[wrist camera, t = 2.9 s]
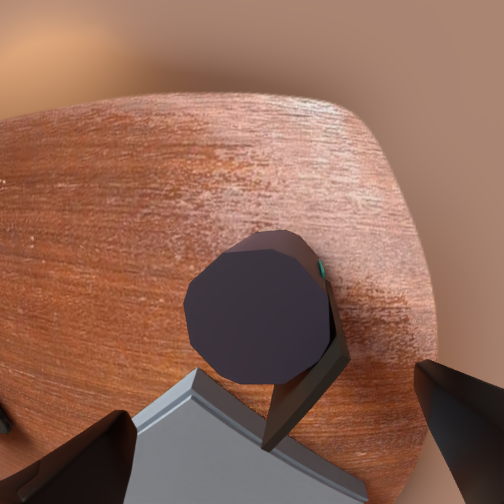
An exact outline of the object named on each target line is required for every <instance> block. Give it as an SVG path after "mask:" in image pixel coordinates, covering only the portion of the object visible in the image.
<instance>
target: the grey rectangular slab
mask: <svg viewBox="0 0 504 504" xmlns="http://www.w3.org/2000/svg"><path fill="white" fill-rule="evenodd" d="M132 420H133V422H134V424H135V426H136V428H137V431H138V435H137V441H136V448H135V454H134V461H133V467H132V472H131V476H130V480H129V484H128V488H127V492H126V495H125V499H124V503H123V504H364V502H366V501H368V500H369V498H368V494H367V491H366V487H365V484H364V482H363V481H361V480H359V479H358V478H356V477H354V476H352V475H351V474H349V473H347V472H345V471H344V470H342V469H340V468H339V467H337V466H335V465H334V464H332V463H330V462H329V461H327V460H325V459H324V458H322V457H320V456H319V455H317V454H316V453H314V452H313V451H311V450H309V449H308V448H306V447H305V446H303V445H302V444H300V443H299V442H297V441H296V440H294V439H293V438H291V437H290V436H288V435H286V436H285V437H284V438H283V439H282V440H281V442H280V443H279V444H278V445H277V446H276V447H275V448H274V449H273V450H272V451H271V452H270V453H268V452H266V451H264V450H262V449H261V445H262V441H263V436H264V432H265V427H266V422H267V420H265V419H264V418H262V417H261V416H260V415H258V414H257V413H256V412H254V411H253V410H251V409H250V408H249V407H247V406H246V405H245V404H243V403H242V402H241V401H240V400H238V399H237V398H236V397H234V396H233V395H232V394H230V393H229V392H228V391H227V390H225V389H224V388H223V387H222V386H220V385H219V384H218V383H217V382H215V381H214V380H213V379H212V378H210V377H209V376H208V375H207V374H205V373H204V372H203V371H202V370H201V369H199V368H198V367H197V368H196V369H195V370H193V371H192V372H191V373H190V374H188V375H187V376H186V377H185V378H183V379H182V380H181V381H180V382H178V383H177V384H176V385H174V386H173V387H172V388H171V389H169V390H168V391H167V392H166V393H164V394H163V395H162V396H160V397H159V398H158V399H157V400H155V401H154V402H153V403H151V404H150V405H149V406H147V407H146V408H145V409H143V410H142V411H141V412H140V413H138V414H137V415H136V416H134V417H133V418H132Z"/></svg>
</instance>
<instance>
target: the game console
mask: <svg viewBox="0 0 504 504" xmlns="http://www.w3.org/2000/svg"><path fill="white" fill-rule="evenodd" d="M11 430H12V427H11V424H10V422H9V421H8V419H7V418H6V416H5V415H4V413H3V412H2V410H1V409H0V433H1V434H9V432H11Z"/></svg>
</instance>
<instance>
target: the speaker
mask: <svg viewBox="0 0 504 504" xmlns="http://www.w3.org/2000/svg"><path fill="white" fill-rule="evenodd" d="M183 305H184V311H185V317H186V322H187V328H188V333H189V339H190V344H191V346H192V347H193V348H194V349H195V350H196V351H197V352H198V353H199V354H200V355H201V356H202V357H203V358H204V359H205V361H206V362H207V363H208V364H209V365H210V366H211V367H212V368H213V369H214V370H215V371H216V372H217V373H218V374H219V375H220V376H222V377H224V378H227V379H229V380H232V381H234V382H236V383H239V384H274V389H273V394H272V399H271V404H270V408H269V413H268V418H267V422H266V427H265V432H264V436H263V441H262V445H261V449H262V450H264V451H266V452H268V453H270V452H271V451H272V450H273V449H274V448H275V447H276V446H277V445H278V444H279V443H280V442H281V440H282V439H283V438H284V437H285V436H286V435H287V434H288V433H289V432H290V431H291V430H292V429H293V428H294V427H295V426H296V425H297V423H298V422H299V421H300V420H301V419H302V418H303V417H304V416H305V415H306V414H307V412H308V411H309V410H310V409H311V408H312V407H313V406H314V404H315V403H316V402H317V401H318V400H319V399H320V397H321V396H322V395H323V394H324V393H325V392H326V390H327V389H328V388H329V387H330V386H331V384H332V383H333V382H334V381H335V379H336V378H337V377H338V376H339V375H340V373H341V372H342V371H343V369H344V368H345V367H346V366H347V364H348V363H349V362H350V361H351V359H350V354H349V350H348V346H347V342H346V338H345V334H344V330H343V327H342V323H341V319H340V315H339V311H338V308H337V304H336V300H335V297H334V293H333V289H332V286H331V282H329V281H327V280H326V279H325V272H324V269H323V266H322V263H321V260H319V257H318V256H317V255H316V254H315V253H314V252H313V250H312V249H311V248H310V247H309V246H308V245H307V244H306V242H305V241H304V240H303V239H302V238H301V237H300V235H297V234H295V233H292V232H290V231H287V230H277V231H266V232H256V233H254V234H252V235H251V236H249V237H248V238H246V239H244V240H243V241H241V242H240V243H238V244H236V245H235V246H233V247H232V248H230V249H228V250H227V251H225V252H223V253H222V254H221V255H220V256H219V257H218V258H217V259H216V260H214V261H213V262H212V263H211V264H210V265H209V266H208V267H207V268H206V269H205V270H204V271H202V272H201V273H200V274H199V275H198V276H197V277H196V278H195V279H194V280H193V281H192V282H190V284H189V287H188V290H187V293H186V297H185V300H184V303H183Z"/></svg>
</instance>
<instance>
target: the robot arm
mask: <svg viewBox="0 0 504 504" xmlns="http://www.w3.org/2000/svg"><path fill="white" fill-rule="evenodd" d="M414 390H415V393H416V395H417V398H418V401H419V403H420V406H421V408H422V411H423V414H424V416H425V419H426V422H427V424H428V427H429V429H430V431H431V433H432V435H433V437H434V439H435V441H436V443H437V445H438V447H439V449H440V451H441V453H442V455H443V457H444V459H445V461H446V463H447V465H448V467H449V469H450V471H451V473H452V475H453V477H454V480H455V482H456V484H457V486H458V488H459V490H460V492H461V494H462V497H463V499H464V501H465V503H466V504H504V389H503V388H500V387H498V386H495V385H492V384H490V383H487V382H484V381H482V380H479V379H477V378H474V377H472V376H469V375H467V374H464V373H462V372H459V371H457V370H454V369H452V368H449V367H447V366H444V365H442V364H439V363H437V362H434V361H432V360H429V359H426V360H423V361H420V362H417V363H416V364H415V368H414ZM137 435H138V431H137V428H136V426H135V424H134V422H133V420H132V419H131V417H130V415H129V413H128V412H127V411H125V410H114V411H112V412H111V413H110V414H108V415H107V416H105V417H104V418H102V419H101V420H99V421H98V422H96V423H95V424H93V425H92V426H90V427H89V428H87V429H86V430H84V431H83V432H81V433H80V434H78V435H77V436H75V437H74V438H72V439H71V440H69V441H68V442H66V443H65V444H63V445H62V446H60V447H58V448H57V449H55V450H54V451H52V452H51V453H49V454H47V455H46V456H44V457H43V458H41V460H38V461H36V462H35V463H33V464H31V465H30V466H28V467H26V468H25V469H23V470H21V471H19V472H17V473H15V474H13V475H12V476H10V477H8V478H5V479H3V480H1V481H0V504H123V503H124V499H125V495H126V492H127V488H128V484H129V480H130V476H131V472H132V467H133V461H134V454H135V448H136V441H137Z"/></svg>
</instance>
